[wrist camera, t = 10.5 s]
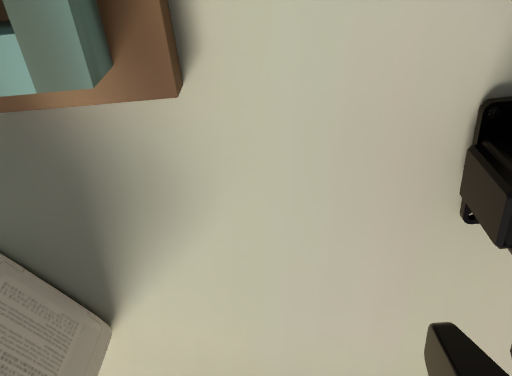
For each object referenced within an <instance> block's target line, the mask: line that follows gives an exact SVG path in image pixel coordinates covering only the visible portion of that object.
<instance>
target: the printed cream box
mask: <svg viewBox="0 0 512 376" xmlns="http://www.w3.org/2000/svg"><path fill="white" fill-rule="evenodd" d="M111 335H112V330H111V328H110V327H109V326H108V325H107V324H106V323H105V322H104V321H102V320H101V319H100V318H99V317H97V316H96V315H94V314H93V313H92V312H90V311H88V310H87V309H86V308H84V307H83V306H81V305H80V304H78V303H76V302H75V301H73V300H72V299H70V298H69V297H67V296H66V295H64V294H63V293H61V292H60V291H58V290H57V289H55V288H54V287H52V286H51V285H49V284H47V283H46V282H44V281H43V280H41V279H40V278H38V277H37V276H35V275H34V274H32V273H30V272H29V271H27V270H26V269H24V268H23V267H22V266H20V265H18V264H17V263H15V262H13V261H12V260H10V259H9V258H7V257H5V256H4V255H2V254H0V376H98V373H99V370H100V368H101V365H102V362H103V359H104V357H105V354H106V351H107V348H108V345H109V342H110V339H111Z"/></svg>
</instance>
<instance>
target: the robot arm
mask: <svg viewBox="0 0 512 376" xmlns="http://www.w3.org/2000/svg"><path fill="white" fill-rule="evenodd" d="M495 107H496V111H495V112H494V113H493V114H490V115H488V113H489V111H490V110H491V109H492V108H495ZM460 195H461V197H462V204H461V209H460V216H461V217H462V219H463V220H464V222H465V223H467V224H481V226H482V227H483V229H484V230H485V232H486V233H487V235H488V236H489V238H490V239H491V240H492V242H493V243H494V244H495V245H496V246H497V247H498V248H499V249H506V248H508V250H509V251H510V253H511V254H512V97H505V98H493V99H489V100H487V101H485V102H483V104H482V105H481V106H480V108H479V111H478V117H477V122H476V128H475V133H474V138H473V144H472V145H471V146H470V147H469V149H468V150H467V154H466V160H465V165H464V171H463V177H462V182H461V188H460ZM470 213H473V214H472V215H469V214H470ZM510 352H511V357H512V345H511V349H510ZM424 356H425V363H426V367H427V371H428V375H429V376H509V375H508V374H507V373H506V372H505V371H504V370H503V369H502V368H501V367H500V366H498V365H497V364H496V363H495V362H494V361H493V360H492V359H491V358H490V357H489V356H488V355H487V354H486V353H485V352H483V351H482V350H481V349H480V348H479V347H478V346H477V345H476V344H475V343H474V342H473V341H472V340H471V339H470V338H468V337H467V336H466V335H465V334H464V333H463V332H462V331H461V330H460V329H459V328H458V327H457V326H456V325H454V324H453V323H450V322H442V323H432V324H430V325H429V327H428V332H427V338H426V344H425V350H424Z"/></svg>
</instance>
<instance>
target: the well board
mask: <svg viewBox="0 0 512 376" xmlns="http://www.w3.org/2000/svg"><path fill="white" fill-rule="evenodd" d="M182 86H183V82H182V76H181V71H180V66H179V60H178V55H177V49H176V44H175V38H174V33H173V27H172V22H171V17H170V11H169V6H168V0H0V113H3V112H15V111H26V110H38V109H50V108H61V107H73V106H84V105H96V104H107V103H119V102H131V101H142V100H154V99H165V98H177V97H178V96H179V93H180V91H181V88H182Z"/></svg>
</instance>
